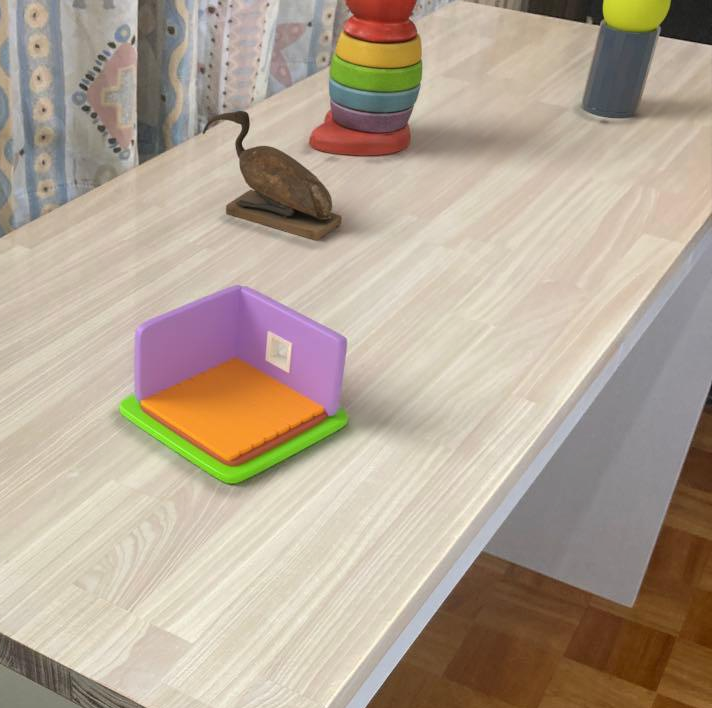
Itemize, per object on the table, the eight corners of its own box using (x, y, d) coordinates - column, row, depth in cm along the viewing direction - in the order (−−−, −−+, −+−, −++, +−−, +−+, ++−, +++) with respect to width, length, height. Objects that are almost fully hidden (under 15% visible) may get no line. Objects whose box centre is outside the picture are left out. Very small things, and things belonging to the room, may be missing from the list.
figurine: (187, 202, 107) (190, 109, 102) (213, 187, 110) (217, 95, 104) (317, 241, 101) (328, 144, 96) (341, 224, 104) (353, 129, 98)
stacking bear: (329, 115, 126) (349, -63, 114) (420, 129, 123) (449, -52, 112) (304, 149, 118) (321, -38, 107) (400, 164, 115) (429, -26, 104)
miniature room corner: (235, 354, 86) (240, 270, 81) (355, 422, 79) (368, 335, 75) (111, 410, 79) (110, 323, 75) (230, 489, 73) (236, 399, 68)
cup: (647, 116, 128) (671, 32, 122) (595, 118, 127) (617, 34, 121) (621, 98, 132) (643, 15, 127) (571, 100, 131) (591, 17, 126)
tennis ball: (672, 44, 123) (691, -24, 118) (613, 47, 122) (630, -21, 117) (642, 25, 128) (659, -41, 123) (585, 28, 127) (600, -39, 122)
